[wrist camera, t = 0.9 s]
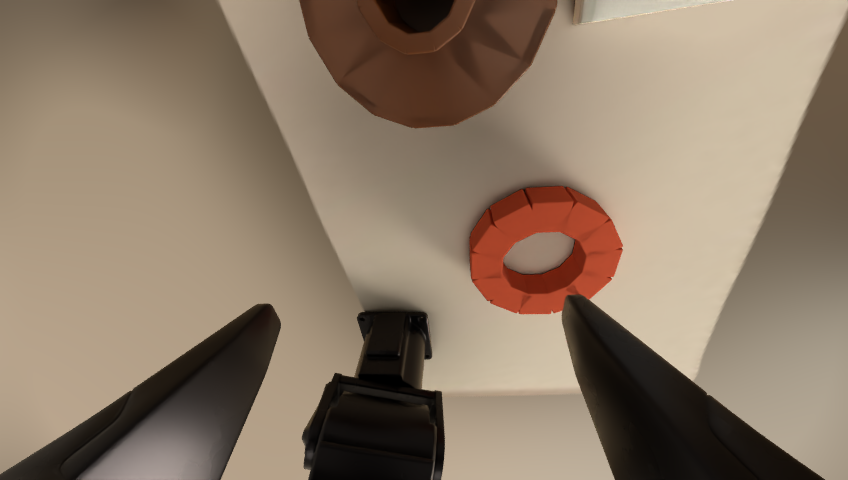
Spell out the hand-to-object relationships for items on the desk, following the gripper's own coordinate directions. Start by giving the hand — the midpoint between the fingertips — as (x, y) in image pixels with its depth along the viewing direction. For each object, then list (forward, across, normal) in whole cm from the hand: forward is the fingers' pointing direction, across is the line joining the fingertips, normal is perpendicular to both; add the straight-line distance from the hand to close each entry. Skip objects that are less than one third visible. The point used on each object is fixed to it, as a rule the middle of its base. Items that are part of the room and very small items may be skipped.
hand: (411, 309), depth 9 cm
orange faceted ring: (+13, -7, +7) cm, 16 cm away
